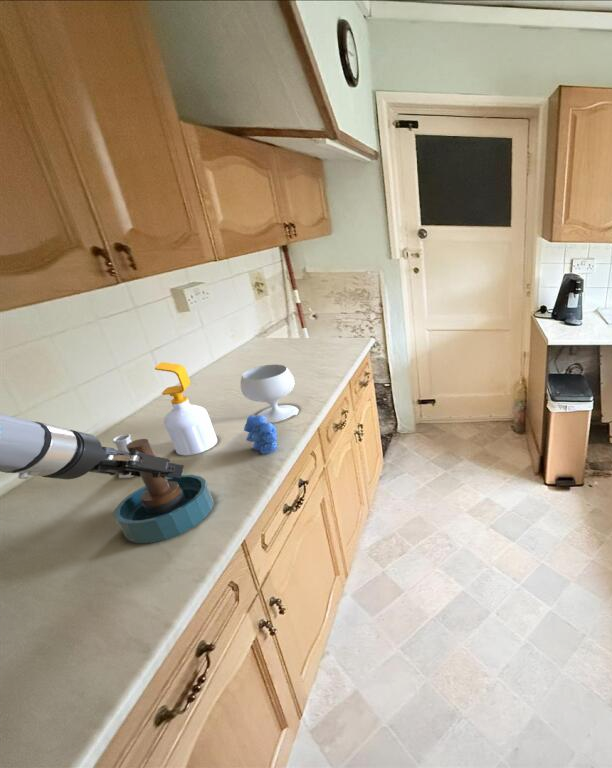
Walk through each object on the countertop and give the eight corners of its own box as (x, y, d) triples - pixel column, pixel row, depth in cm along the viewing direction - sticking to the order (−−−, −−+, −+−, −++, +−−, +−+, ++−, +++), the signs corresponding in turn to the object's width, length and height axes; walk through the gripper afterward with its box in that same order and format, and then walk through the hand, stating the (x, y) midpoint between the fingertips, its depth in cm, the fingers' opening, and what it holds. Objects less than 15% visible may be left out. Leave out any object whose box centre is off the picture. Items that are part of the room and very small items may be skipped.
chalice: (244, 430, 116) (229, 384, 109) (258, 408, 128) (245, 365, 122) (297, 424, 119) (285, 378, 113) (305, 403, 131) (295, 361, 125)
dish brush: (137, 515, 79) (104, 453, 73) (161, 494, 85) (133, 434, 78) (171, 514, 79) (141, 452, 73) (192, 493, 85) (166, 433, 79)
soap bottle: (184, 441, 110) (151, 359, 100) (222, 436, 113) (194, 356, 102) (171, 460, 102) (133, 373, 92) (211, 454, 105) (179, 369, 95)
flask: (125, 466, 100) (108, 433, 96) (161, 460, 102) (146, 427, 98) (112, 484, 94) (94, 449, 90) (150, 476, 96) (134, 442, 92)
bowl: (106, 547, 77) (92, 524, 74) (162, 496, 90) (152, 475, 87) (184, 545, 78) (174, 522, 75) (228, 494, 91) (220, 473, 88)
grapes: (296, 451, 106) (285, 412, 101) (272, 464, 101) (259, 424, 96) (268, 440, 111) (257, 402, 106) (244, 452, 106) (231, 413, 101)
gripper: (-12, 478, 60) (125, 492, 82) (101, 475, 60) (206, 489, 82) (7, 430, 62) (135, 455, 84) (116, 427, 63) (214, 453, 85)
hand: (170, 472), depth 83 cm, fingers closed on dish brush, 3 cm apart
